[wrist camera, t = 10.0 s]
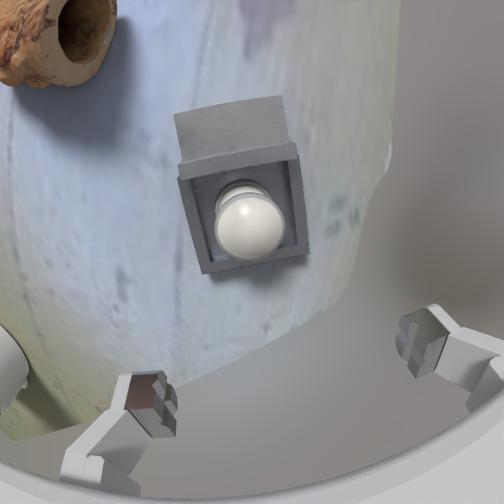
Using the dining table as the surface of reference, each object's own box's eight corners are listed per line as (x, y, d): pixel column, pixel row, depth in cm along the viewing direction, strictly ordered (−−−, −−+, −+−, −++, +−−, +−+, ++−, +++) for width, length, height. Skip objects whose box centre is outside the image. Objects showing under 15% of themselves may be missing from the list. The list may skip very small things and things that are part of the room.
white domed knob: (210, 186, 24) (207, 202, 19) (267, 175, 24) (280, 189, 19) (221, 239, 26) (222, 267, 21) (275, 228, 26) (288, 253, 21)
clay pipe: (50, 124, 23) (154, 61, 19) (-26, 151, 14) (63, 56, 10) (32, 4, 14) (125, -68, 10) (-34, 5, 5) (60, -98, 1)
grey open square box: (203, 262, 28) (201, 285, 24) (169, 119, 22) (159, 118, 18) (302, 242, 28) (315, 262, 24) (283, 98, 22) (295, 93, 18)
